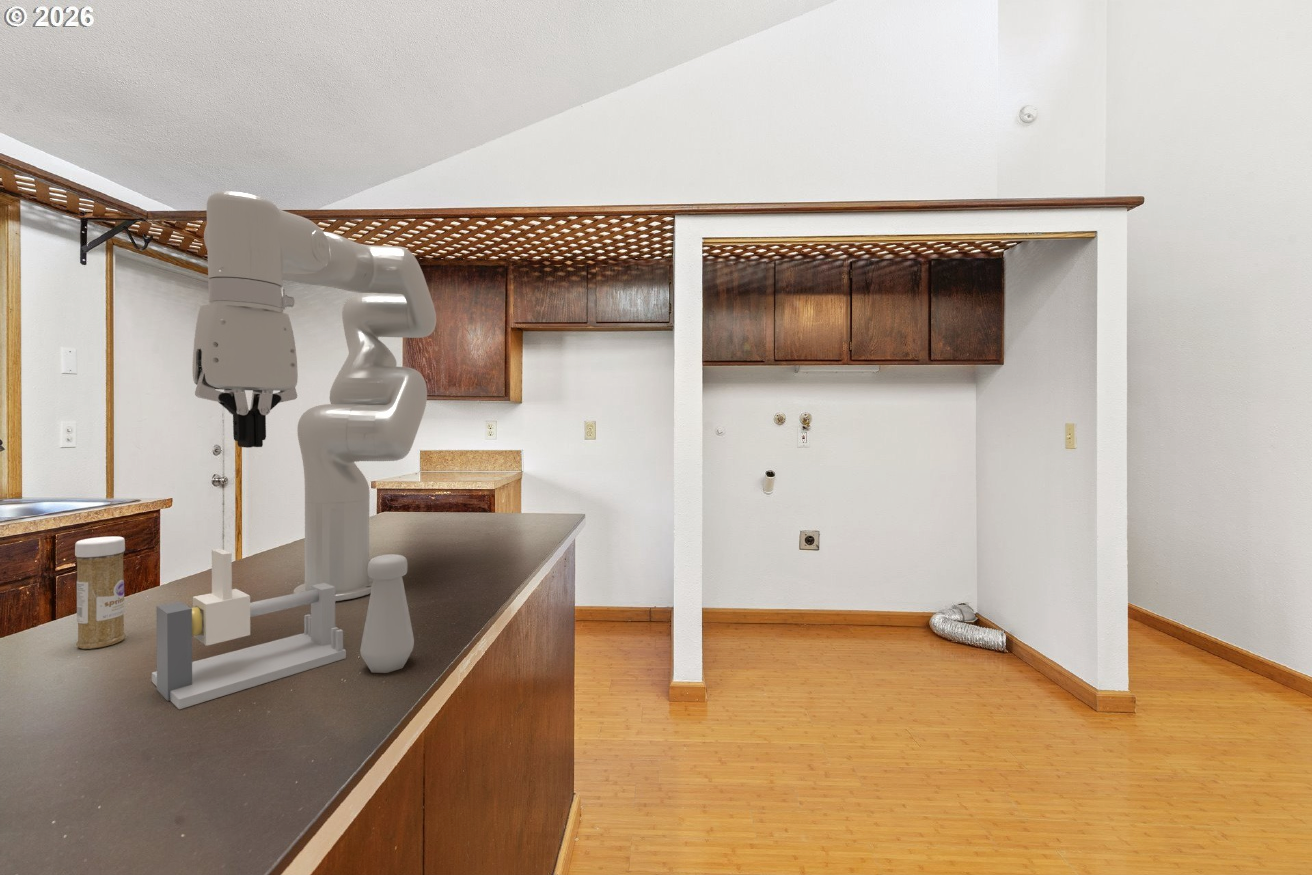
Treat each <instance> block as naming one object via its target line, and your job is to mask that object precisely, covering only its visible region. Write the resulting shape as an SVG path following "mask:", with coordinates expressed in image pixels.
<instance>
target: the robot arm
mask: <svg viewBox="0 0 1312 875" xmlns="http://www.w3.org/2000/svg"><path fill="white" fill-rule="evenodd" d="M203 240H204V245H205V248H206V251H207V271H208V272H207V276H208V277H207V279H208V281H207V282H208V283H207V285H208V304H204V305H200V306H199V310H198V313H197V318H196V324H195V330H194V332H195V333H194V339H193V341H194V342H193V349H192V350H193V354H192V380H193V382H194V384H195V385H196V388H195V391H194V395H195V397H197V398H199V399H203V400H207V401H212V402H217V403H218V404H220V405H221V406H222V407H223V408H225V410H227V411H228V413H229V414H230V415H232V424H233V426H232V427H233V429H232V430H233V432H232V433H233V435H232V436H233V440H234V442H236V443H237V446H238V448H248V449H249V448H251V449H252V448H263V446H264V445H263V444H264V441H265V440H266V439H267V438H266V437H267V426H266V424H267V423H266V421H267V420H266V419H267V418H266V416H267V415H269V414H270V413H271V410H273V409H274V408H275V407H276V406H277V405H278V404H280V403H284V402H285V403H286V402H289V401H290V402H291V401H293V400H296V399H297V398H298V393H297V389H296V387H297V385H298V379H299V378H298V377H299V376H298V370H299V369H298V358H297V356H298V355H297V349H296V348H297V347H296V342H295V336H294V330H293V326H292V323H291V319H290V315H289V313H285V312H284V311H285V310H286V308H287V307H288V308H293V307H294V306H295V298H294V296H289V295H287V294H285V288H284V284H283V283H284V281H287V282H292V283H293V282H294V283H298V284H304V285H310V286H320V287H321V286H322V287H327V288H334V289H338V290H341V291H342V290H343V291H348V292H352V293H356V294H355V295H353V296H350V297H349V298H347V299H346V301H345V302H344V304H343V307H342V312H341V313H342V314H341V316H342V324H343V331H344V332H343V333H344V335H345V336H344V337H345V341H346V344H347V349H348V355H347V357H346V359H345V361H344V363H343V364H342V366H341V368H340V370H339V372H338V373H337V375H336V377H335V379H334V380H333V383H332V385H331V387H330V391H329V402H330V403H329V404H328V403H327V404H325V403H324V404H320V405H315V406H313V407H311V408H309V409H307V410H306V411H305V412H303V413H302V414H301V416H300V418H299V419H298V423H297V426H296V427H297V430H296V431H297V440H298V444H299V450H300V453H301V454H300V455H301V458H302V465H303V475H304V476H303V477H304V583H302V584H299V585H298V586H296V587H295V588H294V589H293V594H295V593H300V592H304V591H309V590H311V585H316V584H321V583H326V584H329V585H331V586H334V587H335V602H340V601H347V600H352V599H357V598H362V597H364V596H367V595H371V589H372V584H373V579H371V578H369V577H368V571H367V569H368V563H369V561H370V560H371V559H370V495H371V494H370V485H369V483H368V480H367V478H366V476H365V475H364V474H363V472H362V471H361V470H360V468H359V467H358V465H357V464H356V463H357V462H394V461H399V460H403V459H404V458H406V457H407V456H408V454H409V453H410V451H411V449H412V447H413V444H414V442H415V439H416V436H417V434H418V431H419V428H420V425H421V423H422V419H423V416H424V414H425V410H426V407H427V401H428V400H427V399H428V387H427V383H426V380H425V378H424V376H423V375H422V373H421V372H420V371H418V370H416V369H415V368H412V367H408V366H397V364H398V363H397V359H396V357H395V355H394V354H393V352H392V350H390V348H389V347H387V345H386V344H385V343H384V342H382V341H381V340H380V339H379V338H406V339H410V338H412V339H419V338H426V337H429V336H431V335H432V333H434V331H435V328H436V324H437V314H436V313H437V312H436V309H435V305H434V301H433V300H432V295H431V293H430V291H429V290H430V289H429V287H428V285H427V284H428V283H427V282H426V278H425V274H424V273H423V270H422V268H421V266H420V264H419V261H418V260H417V258H416V257H415V255H414V254H413V253H412V251H411V250H410V249H408V248H405V247H403V246H397V245H395V246H394V245H373V244H372V245H370V244H363V243H359V242H355V241H353V240H351V239H349V238H346V237H345V236H343V235H342V236H341V235H340V234H336V233H334V232H330V231H329V232H328V231H323V229H321V227H319V225H317V224H316V223H314V222H313V221H312V220H310V219H309V218H306V217H304V216H301V215H297V214H294V213H291V212H288V211H285V210H282V209H280V208H278V206H277V205H276V204H274V202H272V201H271V200H269V199H266V198H264V197H262V196H258V195H254V194H252V193H247V192H242V191H231V190H223V191H216V192H214V193H211V194H210V195H209V196H208V199H207V202H206V225H205V227H204V232H203ZM358 293H359V294H358ZM220 390H223V391H220ZM246 391H252V395H251V402H250V408H249V405H248V399H247V394H246ZM274 391H276V392H275V393H274ZM277 391H279V392H277ZM355 462H356V463H355Z"/></svg>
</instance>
